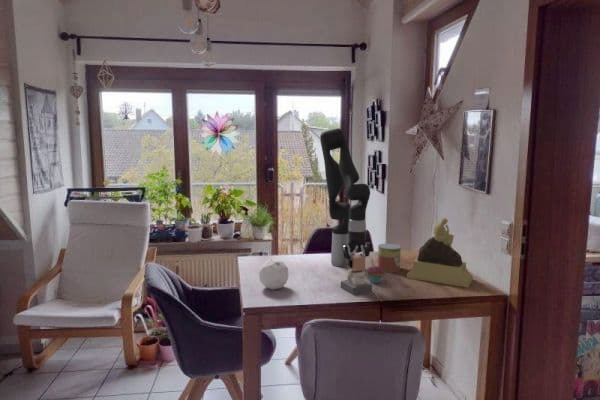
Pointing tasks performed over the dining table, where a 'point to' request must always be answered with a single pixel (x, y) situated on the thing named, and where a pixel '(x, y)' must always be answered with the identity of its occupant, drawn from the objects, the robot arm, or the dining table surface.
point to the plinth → (356, 287)
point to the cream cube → (356, 277)
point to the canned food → (389, 257)
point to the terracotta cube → (358, 263)
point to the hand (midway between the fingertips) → (356, 266)
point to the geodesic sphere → (273, 274)
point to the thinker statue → (440, 260)
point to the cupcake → (375, 273)
